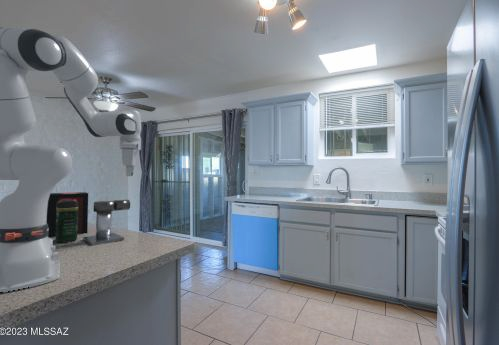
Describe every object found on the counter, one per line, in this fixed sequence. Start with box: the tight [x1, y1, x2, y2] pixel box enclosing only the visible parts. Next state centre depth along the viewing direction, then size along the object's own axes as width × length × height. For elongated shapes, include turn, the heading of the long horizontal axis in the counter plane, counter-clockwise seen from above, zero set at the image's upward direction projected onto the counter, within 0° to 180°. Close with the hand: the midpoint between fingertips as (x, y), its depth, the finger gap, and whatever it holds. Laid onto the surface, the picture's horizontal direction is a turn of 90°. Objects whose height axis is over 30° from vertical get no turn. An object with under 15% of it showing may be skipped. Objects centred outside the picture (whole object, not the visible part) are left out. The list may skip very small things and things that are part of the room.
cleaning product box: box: [47, 191, 89, 238], centre depth 127 cm, size 16×9×20 cm, turn 130°
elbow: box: [93, 199, 131, 213], centre depth 119 cm, size 15×8×5 cm, turn 137°
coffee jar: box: [54, 199, 78, 243], centre depth 115 cm, size 10×8×19 cm
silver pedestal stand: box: [82, 211, 125, 246], centre depth 117 cm, size 13×13×13 cm
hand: (129, 176), depth 117 cm, fingers open, 7 cm apart
